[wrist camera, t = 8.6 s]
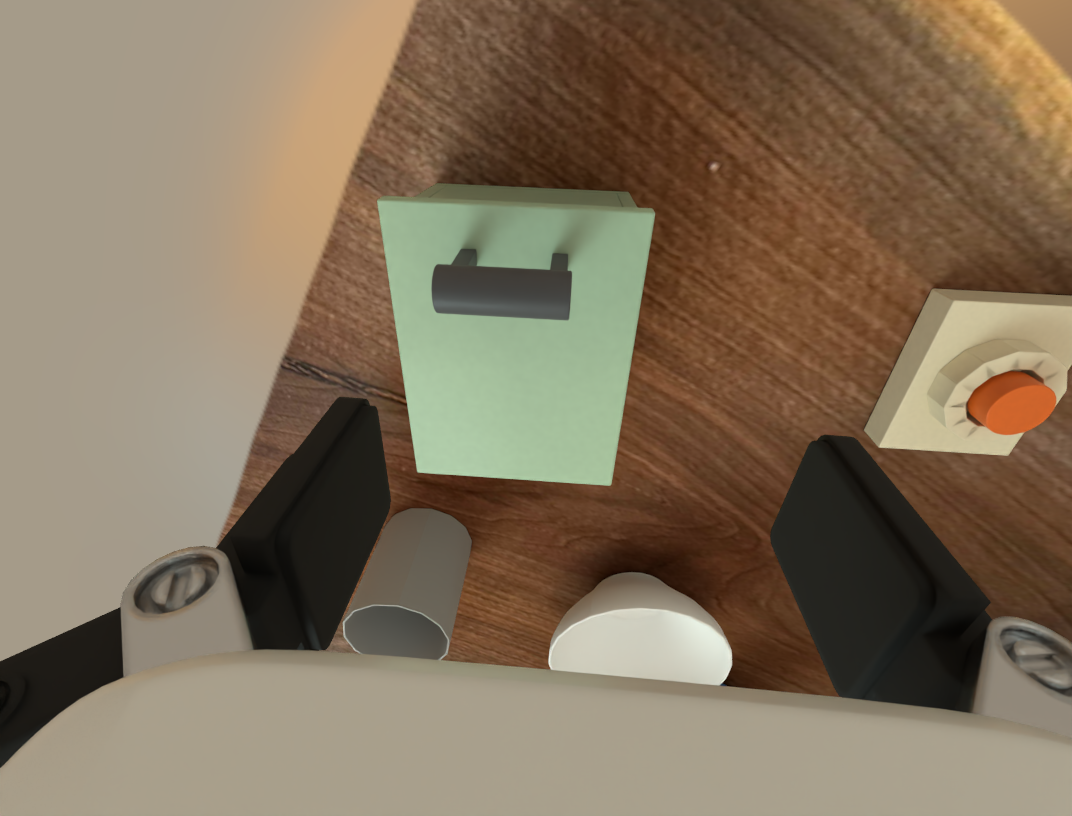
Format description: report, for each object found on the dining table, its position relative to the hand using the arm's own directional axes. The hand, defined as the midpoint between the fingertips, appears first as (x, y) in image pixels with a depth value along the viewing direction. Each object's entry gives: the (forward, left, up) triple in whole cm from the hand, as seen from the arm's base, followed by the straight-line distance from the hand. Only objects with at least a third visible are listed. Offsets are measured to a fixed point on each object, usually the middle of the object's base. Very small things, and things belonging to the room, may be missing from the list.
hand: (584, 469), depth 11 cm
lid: (+5, -3, -14) cm, 15 cm away
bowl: (+35, +8, -23) cm, 43 cm away
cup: (+29, -12, -23) cm, 39 cm away
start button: (+8, +27, -20) cm, 34 cm away
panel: (+8, +27, -23) cm, 37 cm away
